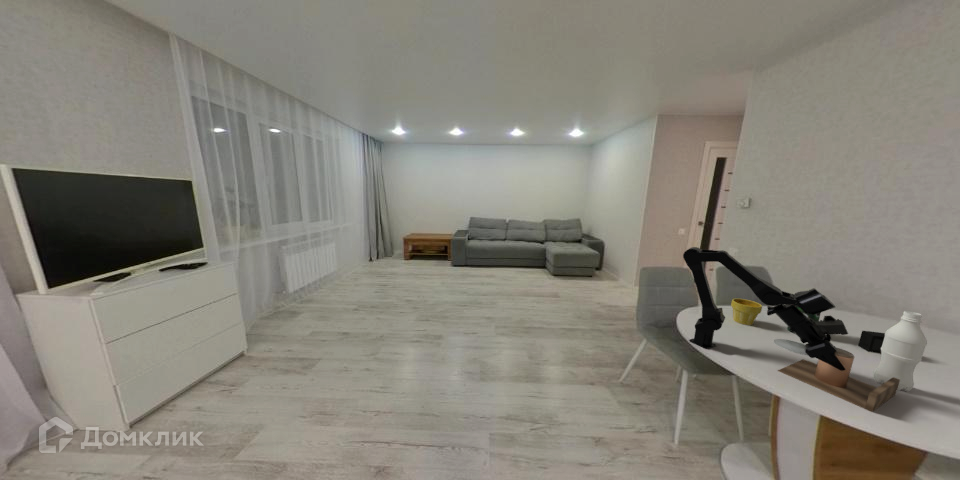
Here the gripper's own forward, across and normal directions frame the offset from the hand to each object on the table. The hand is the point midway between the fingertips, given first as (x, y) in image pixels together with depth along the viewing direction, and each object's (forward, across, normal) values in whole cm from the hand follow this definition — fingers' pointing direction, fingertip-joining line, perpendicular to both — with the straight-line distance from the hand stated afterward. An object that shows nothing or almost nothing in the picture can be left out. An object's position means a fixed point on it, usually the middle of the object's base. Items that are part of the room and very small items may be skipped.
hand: (841, 365), depth 87 cm
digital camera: (+17, +45, -6) cm, 48 cm away
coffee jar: (+2, +45, +9) cm, 45 cm away
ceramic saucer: (0, +22, +10) cm, 24 cm away
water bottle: (+14, +12, -3) cm, 18 cm away
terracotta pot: (+3, 0, +5) cm, 6 cm away
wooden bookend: (+4, 0, +6) cm, 7 cm away
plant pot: (-11, +39, +22) cm, 46 cm away
